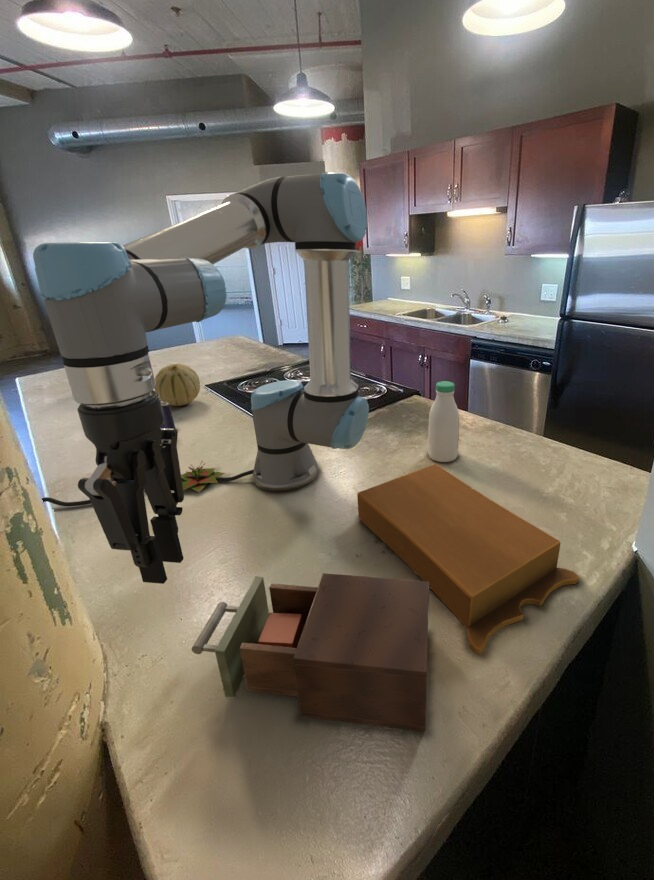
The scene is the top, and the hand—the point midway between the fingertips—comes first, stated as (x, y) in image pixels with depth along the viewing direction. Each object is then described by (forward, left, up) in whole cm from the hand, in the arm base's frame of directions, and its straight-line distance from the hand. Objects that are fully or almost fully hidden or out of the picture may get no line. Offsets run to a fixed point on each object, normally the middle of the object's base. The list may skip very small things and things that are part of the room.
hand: (164, 569), depth 53 cm
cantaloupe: (-56, +90, -15) cm, 107 cm away
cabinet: (+26, 0, -15) cm, 30 cm away
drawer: (+13, 0, -14) cm, 19 cm away
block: (+14, 0, -12) cm, 19 cm away
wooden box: (+38, +25, -15) cm, 47 cm away
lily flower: (-22, +42, -15) cm, 50 cm away
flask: (-49, +69, -15) cm, 86 cm away
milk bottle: (+36, +60, -15) cm, 72 cm away
